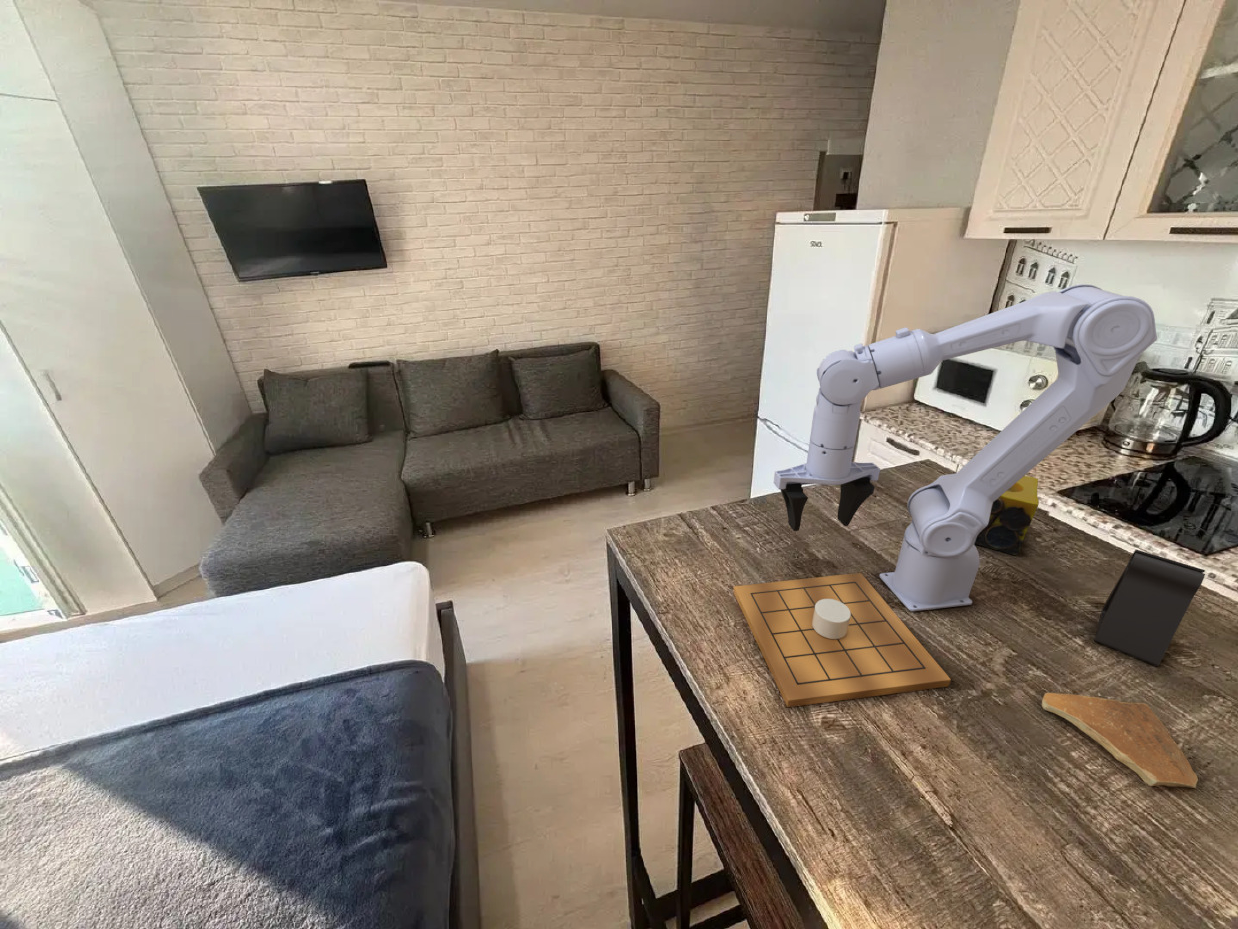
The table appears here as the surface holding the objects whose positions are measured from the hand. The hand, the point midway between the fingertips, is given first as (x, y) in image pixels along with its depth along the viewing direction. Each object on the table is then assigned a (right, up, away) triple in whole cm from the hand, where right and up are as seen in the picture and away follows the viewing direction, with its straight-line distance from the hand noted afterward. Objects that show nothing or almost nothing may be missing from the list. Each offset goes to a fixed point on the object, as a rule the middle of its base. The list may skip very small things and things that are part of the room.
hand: (818, 524), depth 75 cm
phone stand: (+37, -14, -9) cm, 41 cm away
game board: (-1, -14, -7) cm, 16 cm away
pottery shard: (+23, -21, -22) cm, 38 cm away
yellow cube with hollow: (+33, -3, +13) cm, 36 cm away
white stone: (-1, -13, -7) cm, 15 cm away
